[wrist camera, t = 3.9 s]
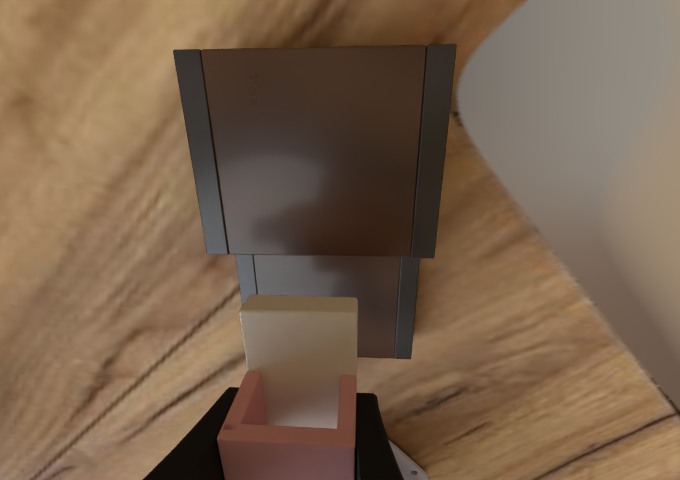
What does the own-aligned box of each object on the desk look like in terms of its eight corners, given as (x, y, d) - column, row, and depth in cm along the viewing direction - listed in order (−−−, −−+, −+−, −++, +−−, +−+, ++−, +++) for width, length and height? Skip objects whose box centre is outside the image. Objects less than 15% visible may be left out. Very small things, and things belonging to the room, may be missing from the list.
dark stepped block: (406, 338, 21) (419, 400, 17) (257, 333, 22) (229, 391, 17) (428, 65, 16) (457, 43, 11) (226, 68, 16) (172, 49, 12)
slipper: (248, 293, 11) (200, 368, 8) (357, 296, 10) (356, 374, 7) (265, 425, 13) (233, 527, 10) (355, 430, 13) (354, 535, 9)
